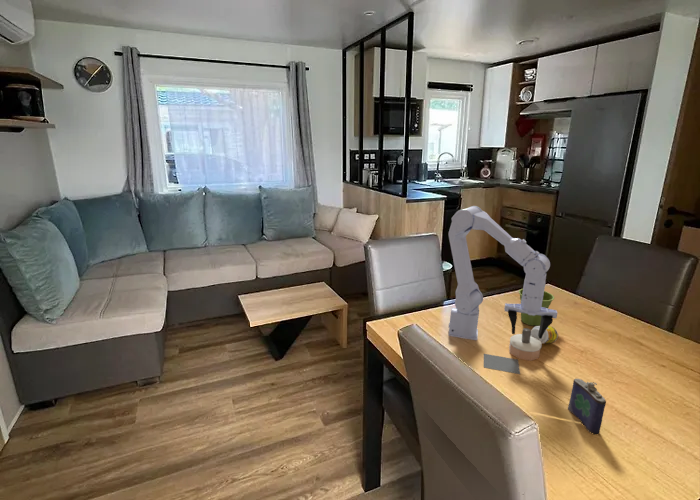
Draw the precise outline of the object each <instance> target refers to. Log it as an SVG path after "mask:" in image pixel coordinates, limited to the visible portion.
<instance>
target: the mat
mask: <svg viewBox="0 0 700 500" xmlns="http://www.w3.org/2000/svg"><path fill="white" fill-rule="evenodd" d="M483 368H484V369H490V370H493V371H494V370H495V371H501V372H506V373H511V374H517V375H521V370H520V364H519V358H511V357H506V356H499V355H495V354H488V353H483Z"/></svg>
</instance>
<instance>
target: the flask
mask: <svg viewBox="0 0 700 500" xmlns="http://www.w3.org/2000/svg"><path fill="white" fill-rule="evenodd" d="M572 381H573V383H572V388H571V393H570V398H569V403H568V407H567V410H568V411H569V412H570V413H571V414H573V415H574V416H575V417H576V418H577V419H578V420H579V421H580V424H581V425H582V424H583V425H584V426H583V425H582V426H583V427H586V428H585V429H586V430H587V431H588V433H590V432H591V433H590V434H592V433H593V434H592V435H594V434H598V435H600V430H601V428H602V427H601V426H602V422H603V417H604V413H605V407H606V403H607V400H606V399H605V397H604V396H603V395H602V394H601V393H600V392H599V391H598V389H597V388H596V387H595V386H597V382H594V381H593V382H588V381H587V382H585V381H584V380H583V379H581V378H574V379H573V380H572Z"/></svg>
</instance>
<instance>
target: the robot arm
mask: <svg viewBox="0 0 700 500" xmlns="http://www.w3.org/2000/svg"><path fill="white" fill-rule="evenodd" d="M448 230H449V231H448V232H447V233H448V240H449V245H450V250H451V256H452V259H453V260H452V261H453V266H454V270H455V272H454V273H455V276H456V281H457V287H456V289H455V293H454V294H455V300H454V306H455V307H451V308H450V309H451V310H450V315H449V316H450V318H449V323H448V336H449V337H453V338H459V339H460V338H461V339H464V340H465V339H467V340H470V341H471V340H472V341H478V337H479V335H478V333H479V329H478V325H479V323H478V322H479V318H480V317H479V315H480V308H479V307H480V305H481V304H482V303H483V302H484V301H483V300H484V295H483V293H482V292H481V290H480V288H479V284H477V282H476V281H475V278H474V273H473V268H472V267H473V266H472V263H471V257H470V253H469V247H468V241H467V235H469V233H470V232H471V230H477V231H478V230H479V231H484V232H486V233H487V234H488V235H489V236H491V237H492V238H493V239H495V240H496V241H498V242H499V243H500V244H501V245H502V246H504V251H505V253H506V254H508V255H509V257H511V258H512V259H513V260H514V261H515V262H517V263H518V264H519V265H520V266H521V267H523V271H524V273H525V277H524V281H523V287H522V289H523V293H522V300H520V303H504V308H503V309H504V312H507V314H508V315H507V316H508V318H509V320H510V325H511V334H512V335H516V334H515V333H516V324H517V319H518V315H517V313H519V314H521V313H526V314H528V315H533V316H535V315H541V324H540V328H539V333H538V336H539V338H540V339H542V336H543V334H544V332H545V330H546V329H547V328H548V327H549V326H551V325H552V323H553V320H554V319H557V318H558V309H557V310H556V309H552V308H544V307H542V301H543V295H544V291H545V287H546V279H547V272H548V271H549V269H550V267H551V262H550V259H549V257H547V256H546V255H545V254H543V253H540V252H539V251H538V250H534V249H533V248H532V247H531V246H530V245H528V244H527V241H526V239H524V238H523V239H521V238H519V237H517V238H516V237H512V236H511V235H510V234H509V233H508V232H507V231H506V230H504V228H502V226H501V225H500V224H498V223H497V222H496V221H495V220H494V219H492V217H491V216H490V214H488V213H487V212H486V211H484V210H482V209H481V207H479V206H478V205H472V206H469V207H467V208H464V209H459V210H457V211H456V212H455V213H454V215H453V216H452V217H451V223H450V227H449V229H448Z"/></svg>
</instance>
